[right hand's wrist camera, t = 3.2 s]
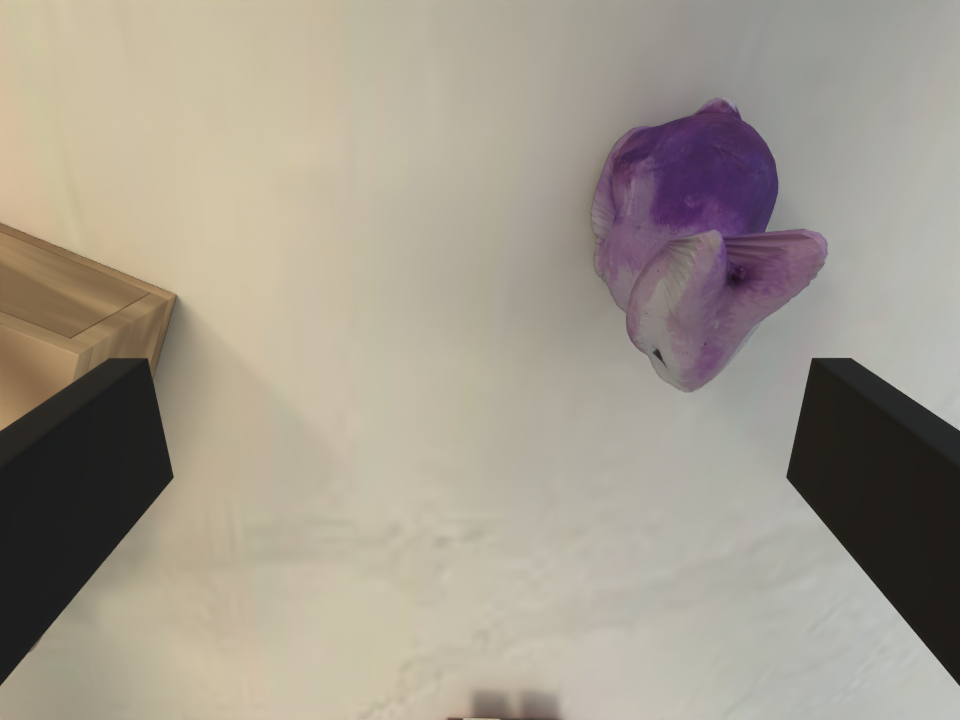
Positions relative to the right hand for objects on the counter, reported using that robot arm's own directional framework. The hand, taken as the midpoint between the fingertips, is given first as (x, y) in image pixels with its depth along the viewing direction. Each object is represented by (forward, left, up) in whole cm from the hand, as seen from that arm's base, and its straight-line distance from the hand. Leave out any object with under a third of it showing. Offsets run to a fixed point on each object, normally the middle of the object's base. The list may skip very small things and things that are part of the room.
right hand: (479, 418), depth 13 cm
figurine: (+6, +8, -24) cm, 26 cm away
